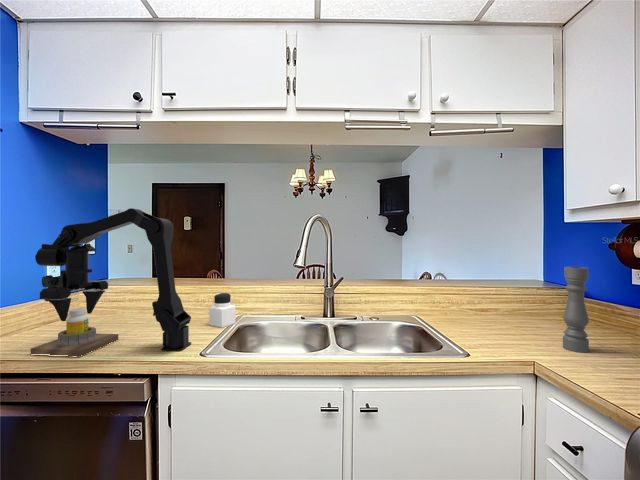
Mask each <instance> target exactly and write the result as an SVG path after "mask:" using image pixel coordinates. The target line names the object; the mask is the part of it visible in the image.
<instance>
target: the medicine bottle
mask: <svg viewBox="0 0 640 480" xmlns="http://www.w3.org/2000/svg"><path fill="white" fill-rule="evenodd" d="M213 297H214V298H213V300H214V303H213V304H214V305H212V306H209V307H208V308H209V309H208V324H209V326H212V327H215V328H217V327H218V328H220V329H221V328H225V327H229V326H232V325H235V324H236V305H233V304H231V301H232V300H231V297H232V296H231V294H230V293H227V292H219V293H215V295H214V296H213Z"/></svg>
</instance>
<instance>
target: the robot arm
mask: <svg viewBox="0 0 640 480" xmlns="http://www.w3.org/2000/svg"><path fill="white" fill-rule="evenodd" d="M132 224H134V225H135V226H137V227H138V228H140V229H142V230H144V232H145V234H146V239H147V241H149V243H150V246H151V247H152V249H153V255H154V264H155V265H154V266H155V270H156V271H155V272H156V280H157V289H158V297H157V300H154V301H153V302H151V305H152V309H153V314H152V316H153V317H154V318H155V320H156V322H158V323H159V325H160V328H161V331H163V332H162V347H160V351H178V352H180V351H182V350H184V349H186V348H187V347H189V346H190V345H192V341H189V340H190V339H189V336H190V333H189V324H190V322H191V319H192V316H190V314H189V313H188V312H186V310H185V308H184V306H183V303H182V299H181V298H180V296H179V295H178V293H177V291H176V290H177V289H176V283H175V281H176V280H175V275H174V274H175V273H174V267H173V259H172V249H171V247H172V243H173V240H174V233H175V232H174V231H175V230H174V229H175V227H174V224H173V222H172V221H170V220H169V219H167V218H161V217H160V218H159V217H156V216H154V215H152V214H149V213H146V211H145V212H144V211H143V210H141V209H138V208H132V207H131V208H127V209H126V210H124V211H121V212H118V213H115V214H112V215H109V216H107V217H102V218H100V219H97V220H93V221H90V222H84V223H83V222H82V223H74V224H73V223H72V224H68V225H64V226H63V227H62V229H61V231H60V234H59V235H58V236H57V237H56V239H55V240H54V241H53V243H42V244H41V247H40V248H39V249H38V250H37V252H36V254H35V256H34V259H35V260H34V261H35V262H36V264H37V265H38V266H40V267H63V266H64V269H62V270H61V271H60V272H59V273H60V275H58V276H53V275H50V274H49V275H45V276H44V275H43V276H42V277H41V286H42V289H41V290H40V291H39V300H43V301H44V302H49V303H50V304H51V305H52V306H53V307H54V309H55V310H56V313H57V315H58V317H59V320H60V321H61V322H66V320H67V318H68V315H69V310H70V306H71V301H72V297H70V296H71V294H74V293H75V294H76V293H79V292H81V293H82V294H83V295H84V296H85V305H86V308H85V309H86V314H87V315H88V314H90V315H91V314H92V313H93V312H94V309H95V307H96V305H97V303H98V302H99V300H100V299H101V297H102V295H103V294H104V293H106V290H108V289H109V283H108V281H106V280H100V279H99V280H98V279H97V280H95V279H94V280H90V279H89V273H93V268H90V267H89V263H90V262H89V256H90V255H89V252H96V251H97V249H96V248H95V247H93V246H92V245H91V244H90V242H92V241H94V240H96V239H98V237H99V236H101V235H103V234H106V233H109V232H111V231H114V230H117V229H120V228H123V227H127V226H129V225H132Z"/></svg>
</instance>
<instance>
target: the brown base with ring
mask: <svg viewBox="0 0 640 480" xmlns="http://www.w3.org/2000/svg"><path fill="white" fill-rule="evenodd" d="M66 331H67V330H66V329H64V330H61V331H60V332H57V339H54V340H52V341H49V342H46V343H43V344H40V345H37V346H35V347H31V348H30V355H31V354H50V355H68V356H81V355H84V354H86V353H89V352H91V351H93V352H95V351H97V350H99V349H98V348H100V347H102V348H104V347H106V346H108V345H107V344H109V343H111V342H113V343H115V342H117V341H116V340H118V341H119V334H118V333H99V332H97V328H96V327H95V326H88V332H85V333H80V334H72V335H67V333H66ZM114 341H115V342H114ZM111 344H112V343H111ZM105 345H106V346H105ZM109 345H110V344H109ZM103 346H104V347H103ZM96 349H97V350H96ZM100 349H101V348H100ZM94 350H95V351H94ZM91 353H92V352H91ZM89 354H90V353H89ZM86 355H87V354H86ZM84 356H85V355H84Z"/></svg>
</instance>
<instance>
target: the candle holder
mask: <svg viewBox="0 0 640 480" xmlns="http://www.w3.org/2000/svg"><path fill="white" fill-rule="evenodd" d="M563 269H564V275H563V277H564V278H565V281H566V283H567V285H566V286H565V287H564V289H566V290H567V302H566V306H565V310H564V311H563V316H562V318H563V321H564V323H565V324H566V327H567V328H566V329H565V330H564V331H563V334H564V335H562V348H563V349H565V350H567V351H569V352H574V353H580V354H581V353H583V354H587V353H589V352H590V349H589V348H590V341H589V339H588V337H589V335H588V333H587V332H586V330H585V329H586V327H587V325H588V324H589V322H590V319H589V315H588V312H587V311H588V310H587V308H586V304H585V292H587V291H588V288H587V287H586V286H585V285H586V283H587V282H588V279H589V267H584V266H564V268H563Z"/></svg>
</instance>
